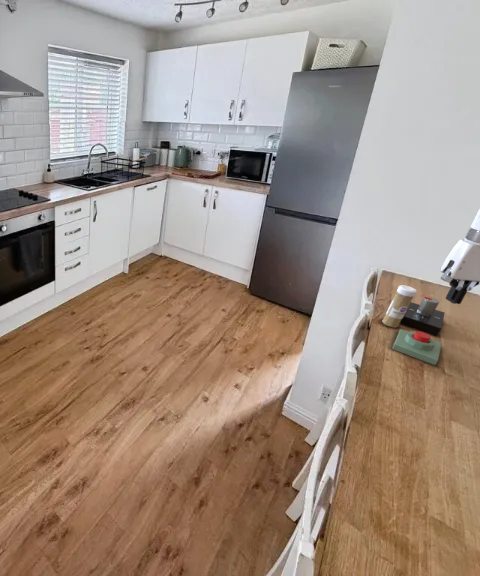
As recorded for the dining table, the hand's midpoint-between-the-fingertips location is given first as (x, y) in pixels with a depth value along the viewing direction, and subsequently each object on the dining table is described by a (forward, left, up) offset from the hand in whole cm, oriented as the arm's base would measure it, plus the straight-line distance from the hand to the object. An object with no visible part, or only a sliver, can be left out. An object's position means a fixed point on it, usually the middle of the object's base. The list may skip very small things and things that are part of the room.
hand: (452, 301), depth 100 cm
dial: (+12, -15, -14) cm, 24 cm away
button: (+1, +2, -14) cm, 14 cm away
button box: (+1, +2, -17) cm, 17 cm away
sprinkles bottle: (+13, -3, -17) cm, 22 cm away
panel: (+12, -15, -17) cm, 26 cm away
